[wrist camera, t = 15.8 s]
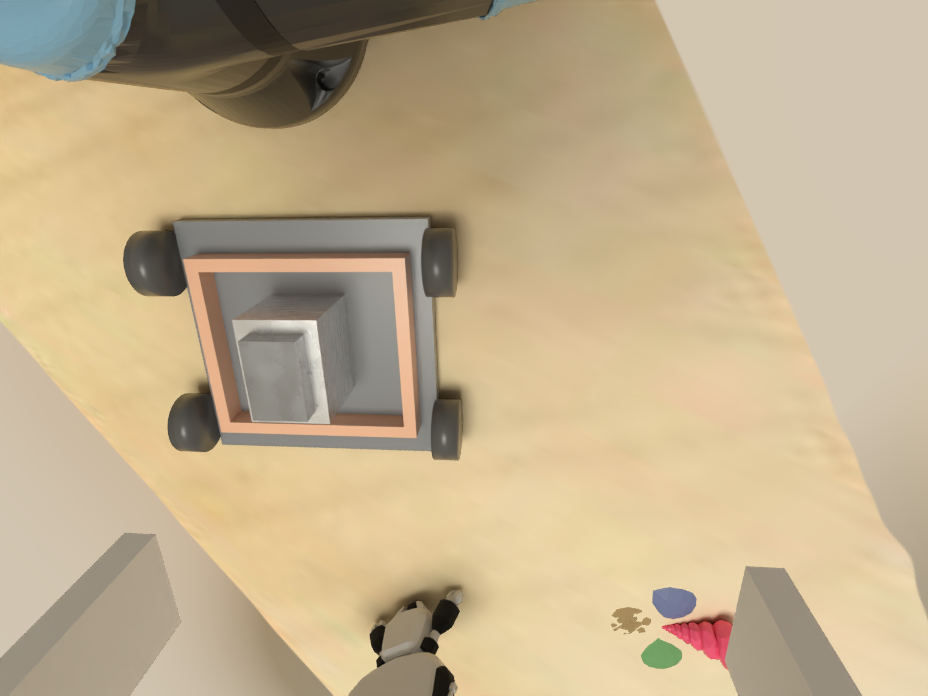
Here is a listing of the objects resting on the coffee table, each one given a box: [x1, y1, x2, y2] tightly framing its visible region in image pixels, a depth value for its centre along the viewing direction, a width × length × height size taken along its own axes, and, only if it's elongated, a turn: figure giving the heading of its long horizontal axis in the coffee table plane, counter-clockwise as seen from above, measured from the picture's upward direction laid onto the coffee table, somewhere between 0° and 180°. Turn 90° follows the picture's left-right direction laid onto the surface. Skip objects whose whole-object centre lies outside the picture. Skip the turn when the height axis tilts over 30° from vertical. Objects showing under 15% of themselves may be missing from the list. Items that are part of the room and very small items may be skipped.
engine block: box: [232, 294, 355, 424], centre depth 40 cm, size 8×6×8 cm
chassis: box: [123, 217, 463, 460], centre depth 43 cm, size 20×24×5 cm
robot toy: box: [349, 590, 463, 696], centre depth 49 cm, size 12×4×15 cm, turn 123°
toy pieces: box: [611, 587, 732, 671], centre depth 51 cm, size 12×11×4 cm
